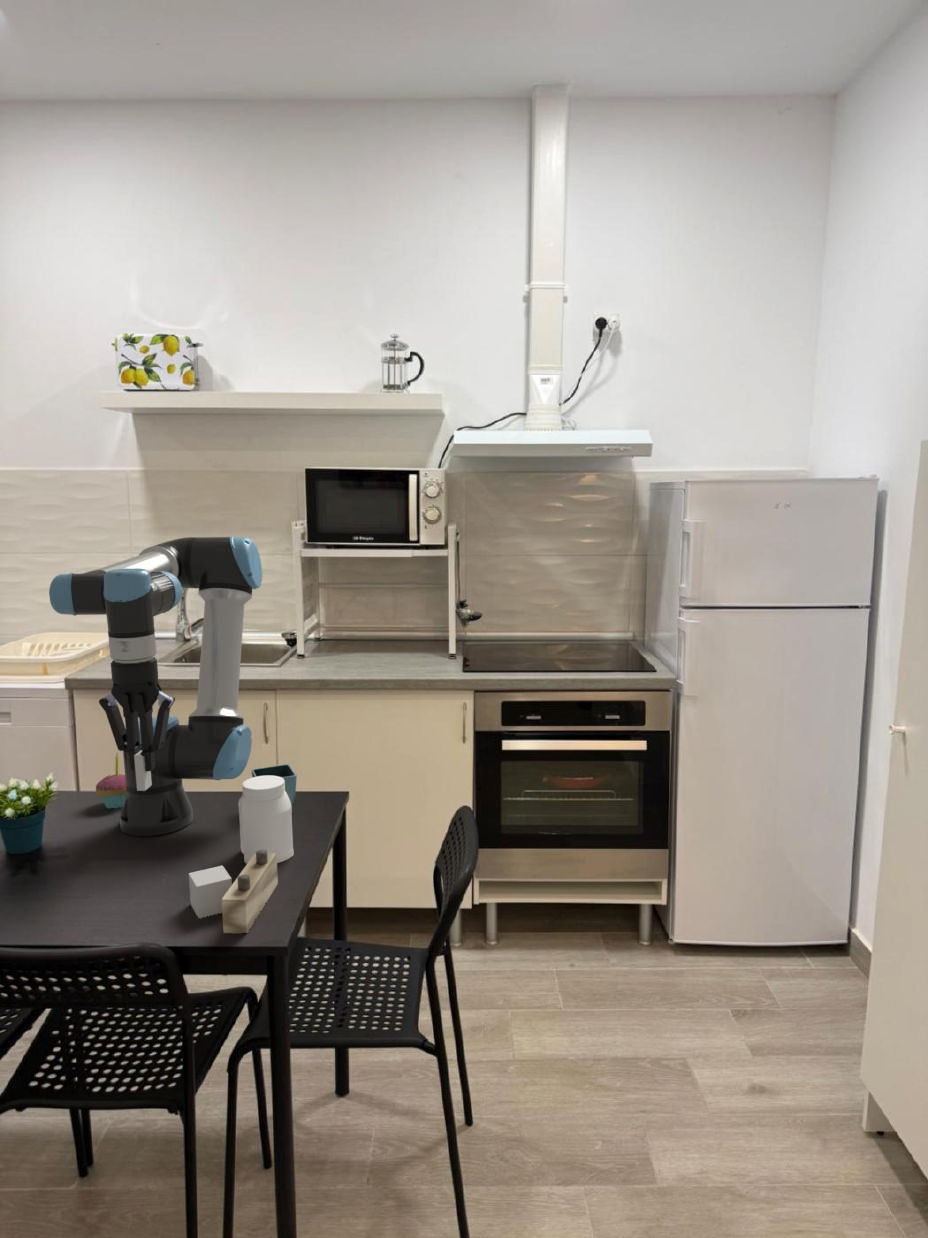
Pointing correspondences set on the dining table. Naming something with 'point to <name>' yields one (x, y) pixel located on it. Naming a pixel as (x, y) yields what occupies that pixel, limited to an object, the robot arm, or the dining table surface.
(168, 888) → the dining table surface
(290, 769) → the flower pot
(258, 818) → the jar
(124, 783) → the cupcake
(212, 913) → the white cube
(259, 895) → the block
